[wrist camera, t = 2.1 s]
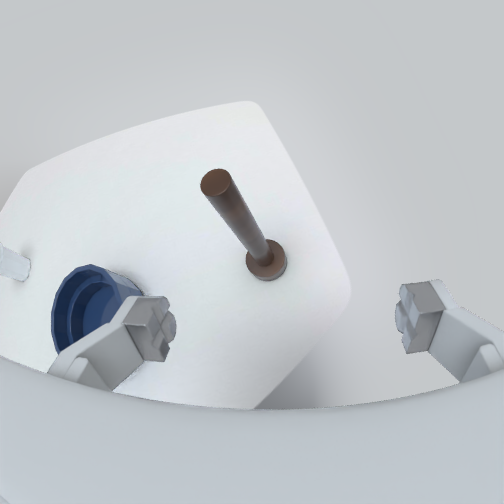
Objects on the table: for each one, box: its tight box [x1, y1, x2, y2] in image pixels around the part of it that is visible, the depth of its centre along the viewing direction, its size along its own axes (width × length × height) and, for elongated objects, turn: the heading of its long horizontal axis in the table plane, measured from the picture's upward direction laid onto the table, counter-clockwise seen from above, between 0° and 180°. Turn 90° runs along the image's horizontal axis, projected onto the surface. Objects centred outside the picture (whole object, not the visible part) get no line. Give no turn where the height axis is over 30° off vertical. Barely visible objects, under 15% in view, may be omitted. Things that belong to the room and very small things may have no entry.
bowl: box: [51, 264, 142, 355], centre depth 33 cm, size 14×14×6 cm
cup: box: [0, 242, 31, 282], centre depth 40 cm, size 7×7×11 cm
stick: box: [200, 169, 287, 281], centre depth 25 cm, size 4×4×18 cm
